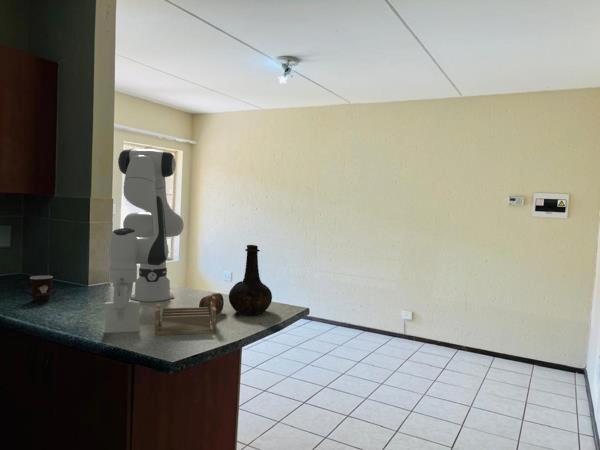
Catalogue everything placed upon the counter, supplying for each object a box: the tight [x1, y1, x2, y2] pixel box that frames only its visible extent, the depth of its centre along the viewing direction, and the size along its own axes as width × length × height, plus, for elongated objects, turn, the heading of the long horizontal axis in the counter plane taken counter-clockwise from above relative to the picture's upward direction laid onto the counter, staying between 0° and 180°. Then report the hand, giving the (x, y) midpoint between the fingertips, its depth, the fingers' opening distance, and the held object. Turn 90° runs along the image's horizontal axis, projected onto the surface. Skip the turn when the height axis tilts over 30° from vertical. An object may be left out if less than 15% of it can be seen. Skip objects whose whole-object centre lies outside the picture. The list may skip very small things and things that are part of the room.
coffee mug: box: [19, 275, 54, 303], centre depth 192 cm, size 12×9×10 cm
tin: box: [198, 292, 225, 316], centre depth 177 cm, size 15×3×8 cm, turn 160°
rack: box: [154, 296, 217, 336], centre depth 158 cm, size 13×20×11 cm, turn 105°
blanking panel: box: [104, 300, 141, 334], centre depth 153 cm, size 2×11×10 cm, turn 105°
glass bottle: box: [228, 244, 273, 316], centre depth 184 cm, size 18×18×28 cm
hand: (122, 316), depth 153 cm, fingers open, 8 cm apart
